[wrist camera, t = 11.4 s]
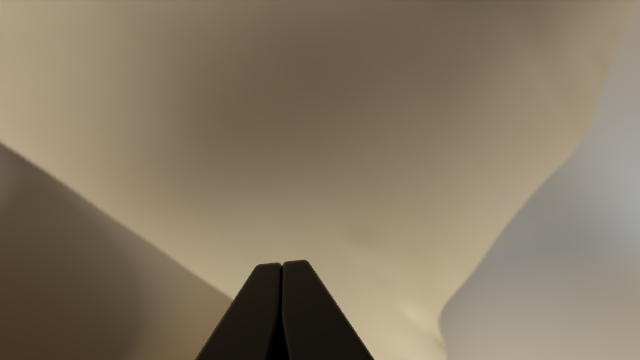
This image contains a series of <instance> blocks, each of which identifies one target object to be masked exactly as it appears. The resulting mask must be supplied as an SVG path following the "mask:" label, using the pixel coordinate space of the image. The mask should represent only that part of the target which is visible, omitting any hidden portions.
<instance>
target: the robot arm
mask: <svg viewBox="0 0 640 360" xmlns="http://www.w3.org/2000/svg"><path fill="white" fill-rule="evenodd" d="M195 360H374V358H373V357H372V355H371V354H370V352H369V351H368V349H367V348H366V346H365V345H364V343H363V342H362V340H361V339H360V337H359V336H358V334H357V333H356V331H355V330H354V328H353V327H352V325H351V324H350V323H349V321H348V320H347V318H346V317H345V315H344V314H343V312H342V311H341V309H340V308H339V306H338V305H337V303H336V302H335V300H334V299H333V297H332V296H331V294H330V293H329V291H328V290H327V288H326V287H325V285H324V284H323V283H322V281H321V280H320V278H319V277H318V275H317V274H316V272H315V271H314V269H313V268H312V266H311V265H310V263H309V262H308V261H306V260H296V261H287V262H284V263H283V265H281V264H280V263H268V264H260V265H257V266H256V267H255V268H254V270H253V271H252V273H251V274H250V276H249V277H248V279H247V280H246V282H245V284H244V285H243V287H242V288H241V290H240V291H239V293H238V294H237V296H236V297H235V299H234V300H233V302H232V303H231V305H230V307H229V308H228V310H227V311H226V313H225V314H224V316H223V317H222V319H221V320H220V322H219V323H218V325H217V326H216V328H215V330H214V331H213V333H212V334H211V336H210V337H209V339H208V340H207V342H206V343H205V345H204V346H203V348H202V349H201V351H200V352H199V354H198V356H197V357H196V359H195Z"/></svg>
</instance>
